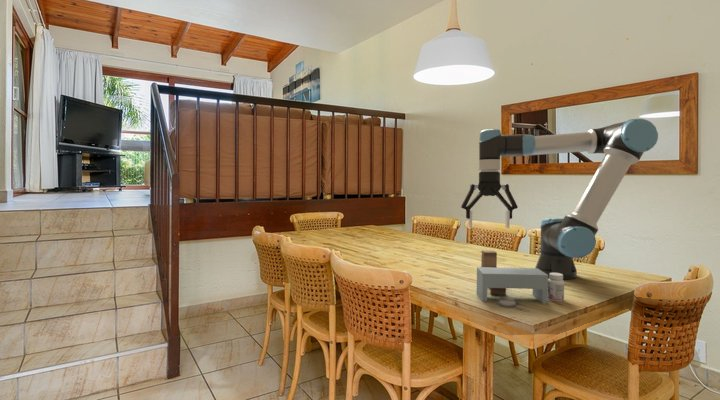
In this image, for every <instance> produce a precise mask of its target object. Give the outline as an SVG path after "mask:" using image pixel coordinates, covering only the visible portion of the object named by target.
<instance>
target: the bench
mask: <svg viewBox="0 0 720 400" xmlns="http://www.w3.org/2000/svg"><path fill="white" fill-rule="evenodd" d="M548 279H549V278H548V275H547V274H546V273H544V272H542V271H541V270H539V269H538V268H535V267H534V268H533V267H527V268H526V267H497V268H493V267H481V266H476V295H477V296H478V297H479V298H480V300H481V302H485V303H486V302H488V289H490V288H506V289H521V290H522V289H524V290H525V289H526V290H532V296H534V298H536V300H538V301H539V302H540V303H541V304H548Z"/></svg>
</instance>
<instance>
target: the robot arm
mask: <svg viewBox="0 0 720 400" xmlns="http://www.w3.org/2000/svg"><path fill="white" fill-rule="evenodd" d="M657 130H658V129H657V127H656V125H655V124H654V123H653V122H651V121H650V120H648V119H644V118H631V119H628V120H626V121H622V122H618V123H614V124H611V125H607V126H604V127H600V128H599V127H598V128H591V129H588V130H587V131H583V132H572V133H560V134H559V133H558V134H545V135H534V134H526V133H523V134H502V132H501V130H500V129H499V128H497V129H496V128H488V129H483V130H481V131H480V132H479V140H478V144H479V145H478V150H479V154H478V156H479V157H478V159H479V160H478V170H479V173H478V184H474V183H472V184H469V185H470V186H469V190H468V192H467V194H466V196H465V198H464V200H463V202H462V204H461V206H460V207H461V208H462V209H464V210H465V217H466V220H468V228H473V210H472V208H473V207H474V206H475V205H476V204H477V202H479V200H480V199H481V198H482V197H483V196H484V197H490V196H491V197H494V196H495V197H496V198H497V199H499V201H500V202H501V203H502V204H503V206H504V207H506V209H505V216H504V217H505V220H504V221H505V222H504V223H505V226H504V228H506V229H510V220H512V219H513V211H514V210H516V209H518V208H519V205H518V204H517V202H516V200H515V197H513V195H512V192H511V191H510V185H509V184H508V183H504V184H501V172H500V170H501V157H503V158H510V157H513V158H514V157H523V156H525V157H526V156H537V155H554V154H567V153H580V152H582V153H584V152H587V153H588V154H590V155H591V154H593V155H594V154H604V157H603V159H602V161H600V164H599V166H598V168H597V169H596V171H595V173H594V175H593V176H592V178H591V180H590V181H589V182H588V185H587V186H586V189H585V190H584V192H583V193H582V195H581V197H580V199H579V200H578V201H577V204H576V206H575V208H574V209H573V210H572V212H570V213H568V214H565V216H564V217H563V218H543V219H542V220H541V223H540V227H539V228H540V251H539V252H540V253H539V257H538V259H537V262H536V265H535V267H534V268H538V269H539V270H541V271H542V272H544V273H546V274H547V275H548V279H550V278H549V274H550V273H560V274H563V280H573V279H576V278H577V275H578V270H577V268H576V265H575V261H574V259H582V258H585V257H587V256H589V255H591V253H592V252H593V251H594V250H595V248H596V246H597V239H596V234H597V233H598V231H599V227H598V225H597V223H598V222H599V220H600V218H601V217H602V215H603V213H604V211H605V209H606V208H607V206H608V205H609V203H610V201H611V199H612V197H613V196H614V194H615V193H616V191H617V190H618V187H619V186H620V184H621V182H622V180H623V179H624V177H625V175H626V174H627V172H628V171H629V168H630V167H631V166H632V165H634V164H638V163H639V161H640V159H641V158H642V156H643V155H644V152H645V153H646V152H648V151H650V150H652V149H653V148H654V147H655V146H656V145H657V143H658V139H659V133H658V132H659V131H657ZM477 189H478V191H479V192H478V193H477V194H476V196H474V198H473V199H472V200H471V201H470V199H471V197H472V195H473V194H474V192H475V191H476V190H477ZM501 189H502V190H503V191H504V193H505V195H506V196H507V199H508V201H509V202H508V201H507V200H506V199H505V197H504V196H503V195H502V193H501V192H500V190H501ZM469 201H470V202H469Z"/></svg>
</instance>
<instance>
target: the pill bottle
mask: <svg viewBox="0 0 720 400" xmlns="http://www.w3.org/2000/svg"><path fill="white" fill-rule="evenodd" d="M564 299H565V281H564V279H563V274H560V273H550V274H549V278H548V297H547V300H549V301H552V302H563V301H564Z"/></svg>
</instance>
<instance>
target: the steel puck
mask: <svg viewBox="0 0 720 400" xmlns="http://www.w3.org/2000/svg"><path fill="white" fill-rule="evenodd" d="M498 306H499V307H502V308H506V309H514V308H517V299H515V298H513V297H509V296H502V297H499V298H498Z"/></svg>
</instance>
